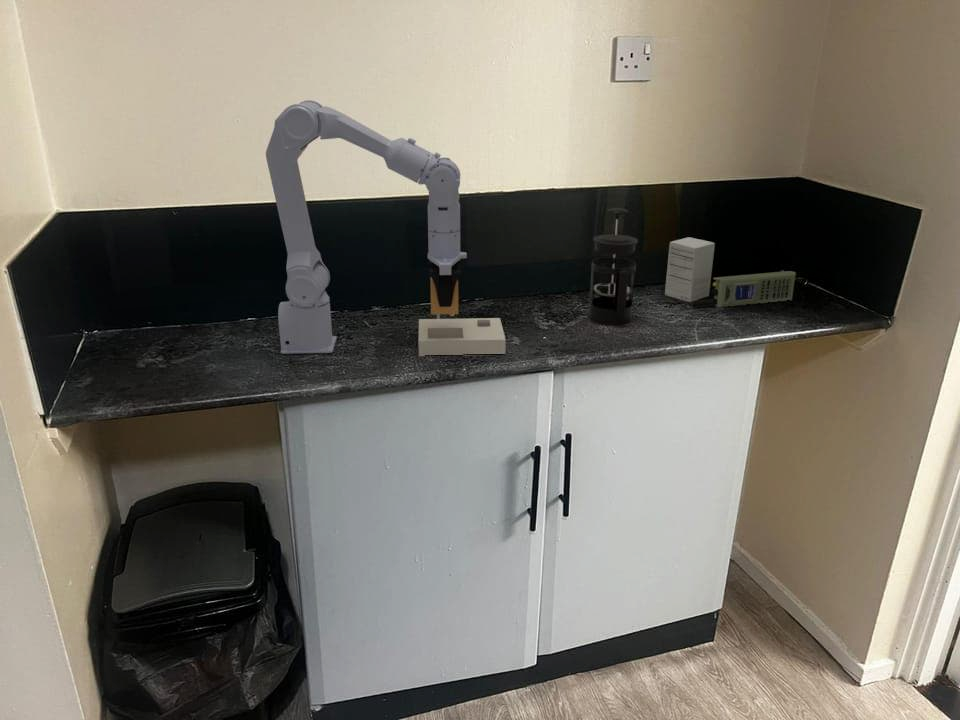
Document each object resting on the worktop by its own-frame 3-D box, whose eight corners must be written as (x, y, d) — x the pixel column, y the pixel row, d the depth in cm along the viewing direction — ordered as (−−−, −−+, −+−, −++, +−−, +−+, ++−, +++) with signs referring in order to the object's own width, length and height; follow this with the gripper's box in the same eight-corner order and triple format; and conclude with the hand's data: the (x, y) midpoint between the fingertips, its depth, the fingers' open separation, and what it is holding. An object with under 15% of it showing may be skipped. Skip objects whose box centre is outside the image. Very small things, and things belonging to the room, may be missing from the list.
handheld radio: (794, 302, 175) (697, 311, 168) (784, 298, 178) (688, 307, 171) (798, 273, 173) (699, 281, 166) (788, 269, 176) (691, 278, 169)
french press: (580, 311, 167) (587, 204, 158) (622, 308, 169) (630, 203, 160) (597, 329, 157) (605, 216, 148) (641, 327, 158) (652, 214, 149)
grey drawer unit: (683, 289, 183) (688, 236, 178) (709, 296, 177) (716, 242, 173) (663, 295, 178) (668, 241, 173) (690, 302, 173) (696, 247, 168)
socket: (418, 356, 143) (418, 337, 141) (419, 333, 154) (418, 315, 152) (505, 354, 144) (505, 335, 142) (499, 332, 155) (500, 314, 153)
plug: (431, 319, 142) (430, 282, 140) (431, 312, 146) (430, 276, 143) (458, 319, 142) (458, 282, 140) (457, 312, 146) (457, 276, 144)
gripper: (468, 238, 132) (468, 314, 137) (464, 220, 145) (464, 290, 150) (427, 239, 131) (428, 315, 136) (426, 221, 144) (428, 290, 150)
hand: (445, 302), depth 143 cm, fingers closed on plug, 4 cm apart
